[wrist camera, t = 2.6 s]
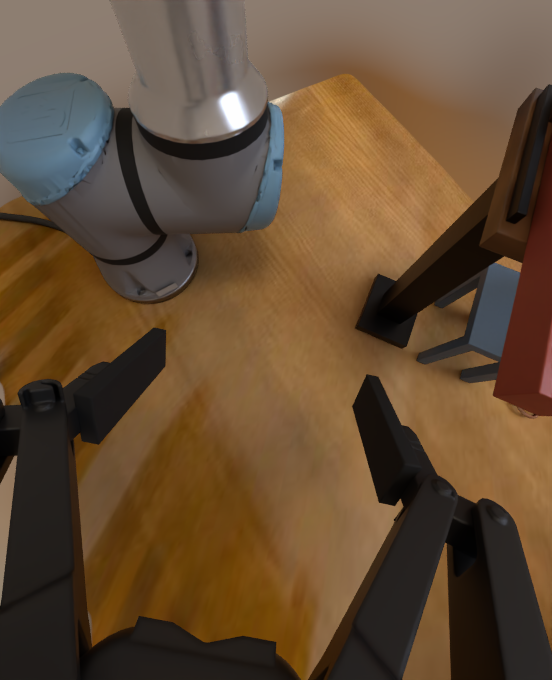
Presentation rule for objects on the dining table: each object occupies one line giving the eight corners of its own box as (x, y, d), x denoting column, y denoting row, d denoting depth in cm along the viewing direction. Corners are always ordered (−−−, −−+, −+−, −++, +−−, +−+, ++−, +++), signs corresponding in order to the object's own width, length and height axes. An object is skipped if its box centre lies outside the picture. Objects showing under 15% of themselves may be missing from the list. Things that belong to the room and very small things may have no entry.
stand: (398, 360, 41) (632, 269, 15) (350, 339, 42) (492, 216, 15) (422, 286, 44) (647, 106, 18) (378, 268, 45) (533, 69, 19)
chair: (483, 390, 40) (809, 360, 16) (415, 361, 41) (626, 290, 17) (499, 323, 43) (794, 212, 19) (435, 297, 44) (639, 159, 20)
